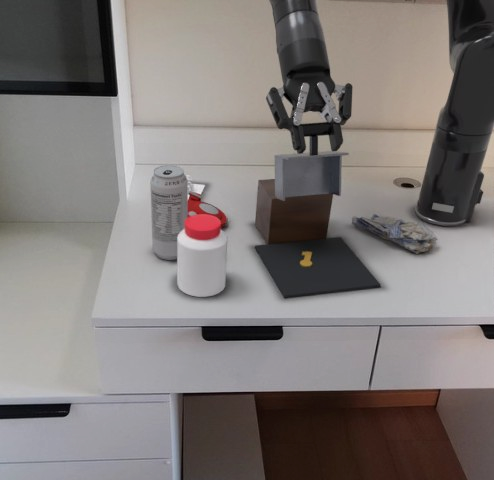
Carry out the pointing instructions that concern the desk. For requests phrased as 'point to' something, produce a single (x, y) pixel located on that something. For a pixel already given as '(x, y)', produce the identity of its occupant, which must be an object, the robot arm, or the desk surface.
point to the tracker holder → (203, 208)
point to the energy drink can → (168, 209)
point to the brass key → (306, 259)
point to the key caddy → (309, 168)
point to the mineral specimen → (399, 232)
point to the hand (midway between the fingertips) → (319, 150)
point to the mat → (315, 267)
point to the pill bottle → (201, 256)
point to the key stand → (291, 215)
